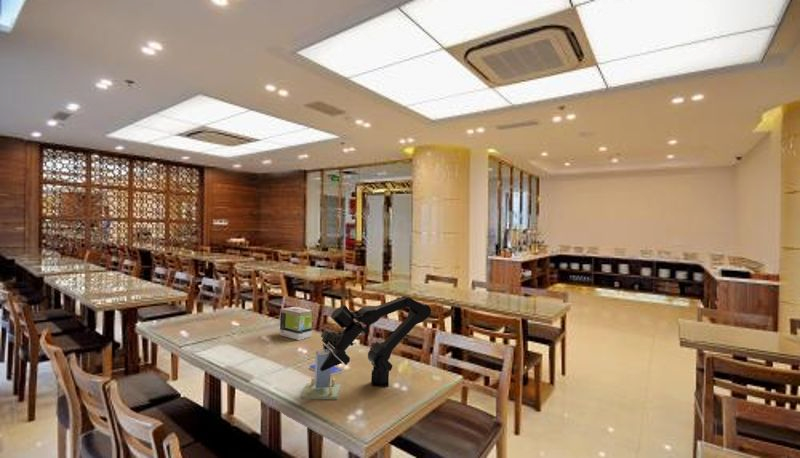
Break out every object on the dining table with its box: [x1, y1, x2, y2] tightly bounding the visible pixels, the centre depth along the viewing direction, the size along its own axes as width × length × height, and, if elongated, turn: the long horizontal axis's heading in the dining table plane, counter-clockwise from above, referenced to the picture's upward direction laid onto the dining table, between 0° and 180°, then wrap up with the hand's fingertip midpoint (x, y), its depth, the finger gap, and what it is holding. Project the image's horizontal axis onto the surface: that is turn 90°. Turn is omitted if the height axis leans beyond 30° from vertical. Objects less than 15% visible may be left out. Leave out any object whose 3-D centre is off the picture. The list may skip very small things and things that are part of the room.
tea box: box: [279, 306, 313, 341], centre depth 214 cm, size 15×10×15 cm
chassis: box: [300, 377, 341, 400], centre depth 145 cm, size 13×11×4 cm
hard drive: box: [309, 364, 343, 377], centre depth 167 cm, size 2×8×12 cm
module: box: [314, 348, 331, 388], centre depth 145 cm, size 5×5×13 cm
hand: (319, 367), depth 145 cm, fingers closed on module, 5 cm apart
